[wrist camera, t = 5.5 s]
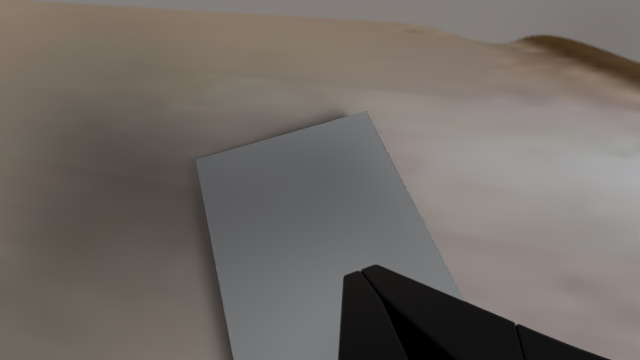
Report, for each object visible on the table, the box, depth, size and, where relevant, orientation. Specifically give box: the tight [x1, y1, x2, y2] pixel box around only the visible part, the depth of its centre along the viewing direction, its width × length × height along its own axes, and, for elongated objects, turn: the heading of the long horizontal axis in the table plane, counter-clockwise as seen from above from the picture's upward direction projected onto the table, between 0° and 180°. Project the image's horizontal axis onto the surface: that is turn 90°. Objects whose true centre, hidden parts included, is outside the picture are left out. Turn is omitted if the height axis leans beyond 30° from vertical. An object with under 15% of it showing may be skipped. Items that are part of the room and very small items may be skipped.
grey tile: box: [196, 111, 464, 360], centre depth 17 cm, size 2×10×12 cm
